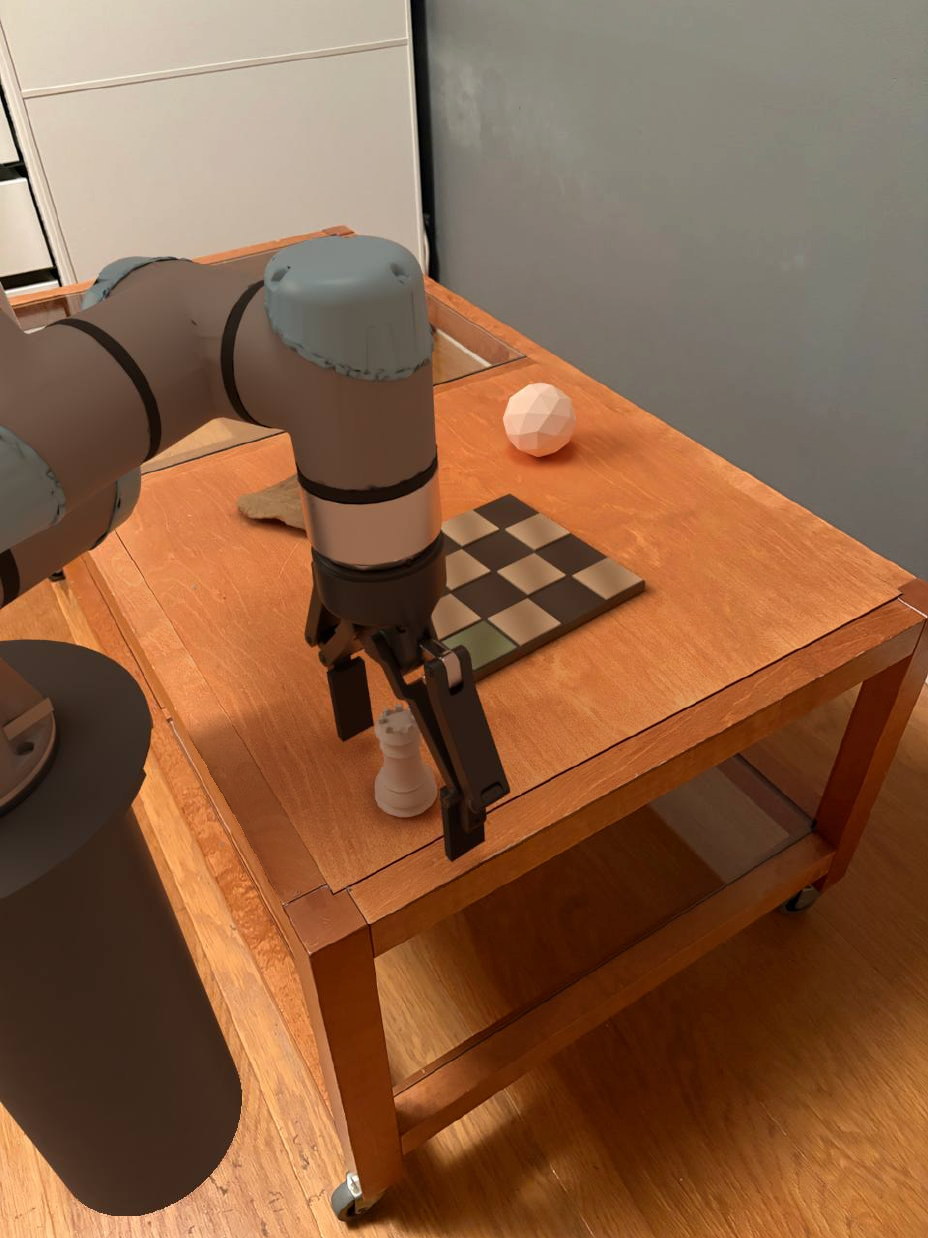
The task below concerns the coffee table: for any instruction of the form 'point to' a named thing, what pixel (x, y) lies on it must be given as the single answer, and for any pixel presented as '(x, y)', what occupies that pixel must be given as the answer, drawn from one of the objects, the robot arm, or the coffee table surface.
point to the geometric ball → (539, 419)
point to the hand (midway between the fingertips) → (407, 786)
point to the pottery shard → (275, 503)
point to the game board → (520, 583)
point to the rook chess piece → (402, 766)
